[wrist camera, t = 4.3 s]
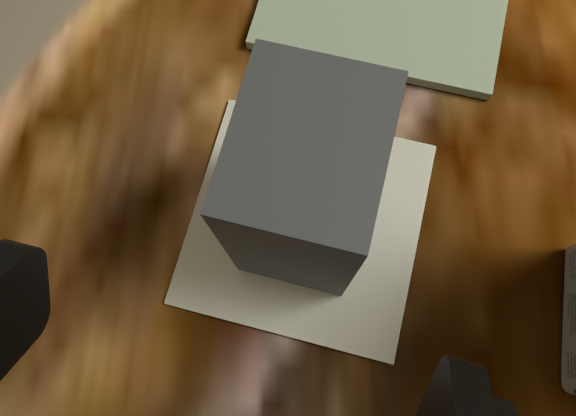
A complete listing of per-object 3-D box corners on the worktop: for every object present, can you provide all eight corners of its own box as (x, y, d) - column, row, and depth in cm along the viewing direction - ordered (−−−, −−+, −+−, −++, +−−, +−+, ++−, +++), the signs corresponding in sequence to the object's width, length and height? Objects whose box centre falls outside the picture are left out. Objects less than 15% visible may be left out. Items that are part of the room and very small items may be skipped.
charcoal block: (369, 176, 24) (408, 71, 15) (341, 296, 22) (368, 255, 14) (271, 153, 24) (255, 38, 15) (238, 269, 23) (199, 214, 14)
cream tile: (435, 147, 24) (436, 145, 24) (392, 364, 22) (393, 364, 21) (229, 101, 25) (229, 99, 25) (165, 303, 23) (163, 303, 22)
